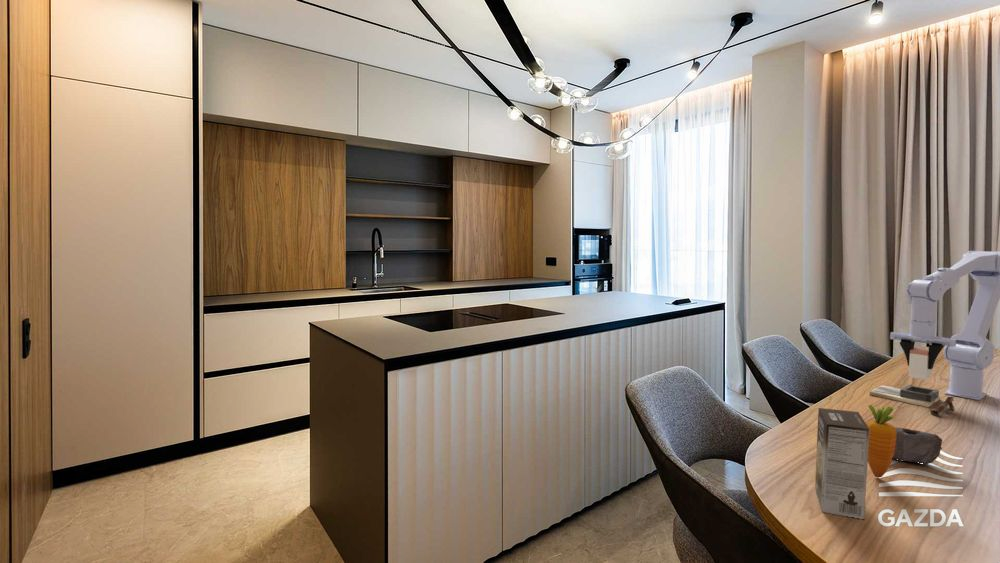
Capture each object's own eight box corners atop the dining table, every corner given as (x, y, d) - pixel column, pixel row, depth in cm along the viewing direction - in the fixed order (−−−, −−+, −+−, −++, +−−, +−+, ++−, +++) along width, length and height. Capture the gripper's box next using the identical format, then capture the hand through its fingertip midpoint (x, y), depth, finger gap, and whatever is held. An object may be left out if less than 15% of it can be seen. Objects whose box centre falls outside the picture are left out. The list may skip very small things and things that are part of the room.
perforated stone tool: (849, 451, 110) (851, 421, 109) (854, 444, 114) (856, 415, 113) (939, 473, 99) (941, 440, 99) (941, 465, 103) (943, 433, 103)
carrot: (855, 473, 100) (859, 400, 98) (878, 471, 100) (882, 400, 99) (876, 485, 95) (880, 409, 94) (900, 483, 95) (905, 408, 94)
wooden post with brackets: (959, 409, 134) (955, 395, 133) (941, 424, 132) (937, 410, 131) (951, 407, 136) (947, 393, 135) (933, 422, 133) (929, 408, 132)
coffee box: (813, 488, 94) (817, 406, 92) (853, 495, 91) (858, 411, 90) (821, 512, 85) (826, 422, 84) (866, 521, 83) (871, 428, 81)
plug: (913, 373, 147) (915, 347, 146) (930, 376, 144) (932, 349, 143) (908, 376, 144) (910, 349, 143) (925, 379, 141) (927, 352, 140)
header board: (881, 388, 156) (882, 379, 156) (939, 399, 145) (940, 389, 145) (869, 394, 150) (870, 385, 149) (929, 407, 138) (929, 396, 138)
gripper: (887, 319, 146) (885, 364, 147) (952, 325, 135) (949, 374, 136) (895, 317, 150) (892, 360, 151) (959, 323, 139) (955, 370, 140)
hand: (920, 367), depth 144 cm, fingers closed on plug, 4 cm apart
